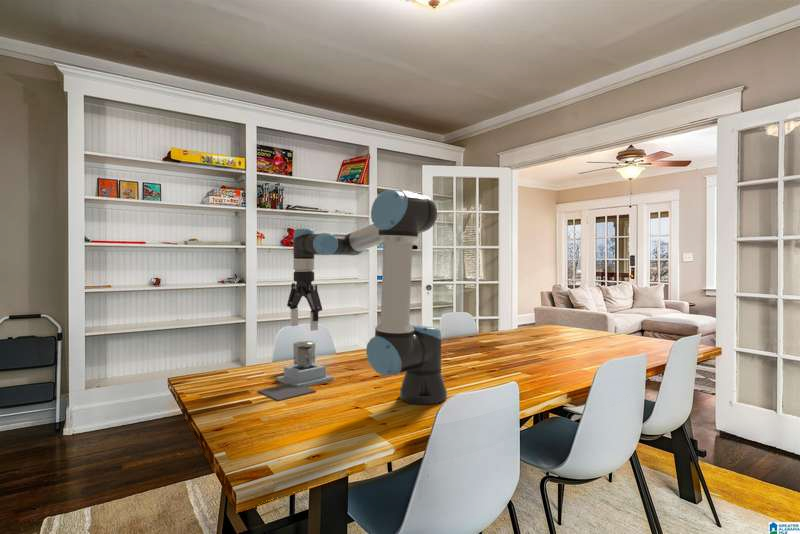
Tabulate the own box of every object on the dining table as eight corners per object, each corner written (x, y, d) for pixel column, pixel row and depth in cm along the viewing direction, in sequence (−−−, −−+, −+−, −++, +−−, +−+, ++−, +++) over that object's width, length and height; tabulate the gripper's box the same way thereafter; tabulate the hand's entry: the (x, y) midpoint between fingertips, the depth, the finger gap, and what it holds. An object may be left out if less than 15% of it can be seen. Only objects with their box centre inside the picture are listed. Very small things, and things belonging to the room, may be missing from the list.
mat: (316, 391, 147) (316, 390, 147) (278, 401, 137) (278, 399, 137) (294, 383, 157) (294, 382, 157) (257, 391, 147) (257, 390, 147)
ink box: (317, 369, 178) (316, 340, 178) (315, 372, 173) (314, 342, 173) (295, 369, 177) (295, 340, 177) (293, 372, 172) (293, 343, 172)
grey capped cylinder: (317, 380, 161) (316, 342, 161) (302, 383, 157) (301, 345, 156) (307, 377, 166) (307, 340, 165) (292, 380, 161) (292, 342, 161)
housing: (333, 380, 161) (333, 366, 161) (297, 388, 150) (297, 374, 150) (311, 372, 172) (311, 360, 172) (276, 380, 161) (276, 366, 161)
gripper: (332, 271, 154) (332, 330, 155) (295, 269, 172) (295, 323, 173) (314, 271, 149) (314, 333, 149) (278, 270, 167) (278, 325, 167)
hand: (304, 328), depth 161 cm, fingers open, 13 cm apart
